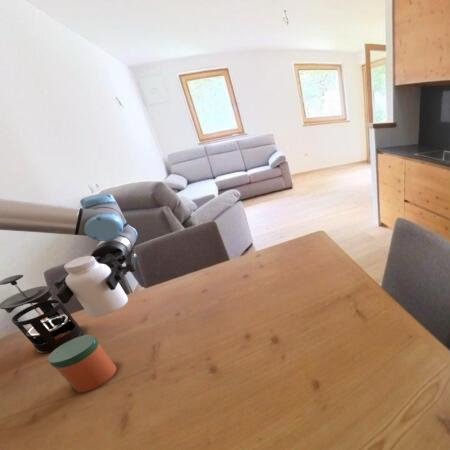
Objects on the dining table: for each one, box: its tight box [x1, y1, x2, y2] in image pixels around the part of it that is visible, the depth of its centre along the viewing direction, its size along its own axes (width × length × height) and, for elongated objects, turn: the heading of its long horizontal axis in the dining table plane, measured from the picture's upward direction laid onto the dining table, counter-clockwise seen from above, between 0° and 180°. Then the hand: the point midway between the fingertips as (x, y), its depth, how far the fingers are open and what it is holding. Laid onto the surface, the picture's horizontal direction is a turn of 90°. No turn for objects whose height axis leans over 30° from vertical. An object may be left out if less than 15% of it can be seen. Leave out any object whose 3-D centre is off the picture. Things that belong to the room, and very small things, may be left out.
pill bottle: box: [63, 255, 129, 318], centre depth 72 cm, size 8×8×15 cm
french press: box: [0, 274, 85, 355], centre depth 78 cm, size 12×9×23 cm
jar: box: [54, 343, 117, 393], centre depth 69 cm, size 8×8×10 cm
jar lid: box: [47, 334, 100, 369], centre depth 67 cm, size 8×8×2 cm
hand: (86, 292), depth 68 cm, fingers closed on pill bottle, 8 cm apart
